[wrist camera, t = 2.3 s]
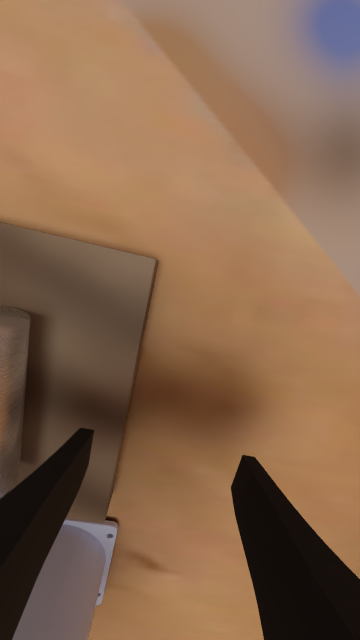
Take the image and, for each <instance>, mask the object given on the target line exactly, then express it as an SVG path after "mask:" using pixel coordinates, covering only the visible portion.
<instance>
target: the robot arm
mask: <svg viewBox="0 0 360 640" xmlns="http://www.w3.org/2000/svg"><path fill="white" fill-rule="evenodd" d="M93 435H94V430H92V429H86V428H79V429H78V430H77V431H76V432H75V433H74V434H73V435H72V436H71V437H70V438H69V439H68V440H67V441H66V442H65V443H64V444H63V445H62V446H61V447H60V448H59V449H58V450H57V451H56V452H55V453H54V454H53V455H51V456H50V457H49V458H48V459H47V460H46V461H45V462H44V463H43V464H42V465H40V466H39V467H38V468H37V469H36V470H35V471H34V472H32V473H31V474H30V475H29V476H28V477H26V478H25V479H24V480H23V481H22V482H20V483H19V484H18V485H17V486H16V487H14V488H13V489H12V490H11V491H9V492H8V493H7V494H6V495H4V496H3V497H2V498H0V640H88V636H89V632H90V627H91V623H92V619H93V614H94V610H95V606H98V605H100V604H101V603H102V600H103V595H104V591H105V586H106V581H107V577H108V572H109V567H110V563H111V558H112V554H113V549H114V544H115V540H116V535H117V530H118V524H117V523H116V522H114V521H107V520H105V522H104V523H100V522H93V521H85V520H78V519H70V518H66V517H67V515H68V513H69V510H70V508H71V506H72V504H73V502H74V500H75V498H76V496H77V494H78V492H79V489H80V487H81V484H82V482H83V479H84V476H85V474H86V471H87V468H88V466H89V460H90V454H91V447H92V441H93ZM231 491H232V498H233V505H234V511H235V516H236V520H237V524H238V528H239V532H240V536H241V540H242V544H243V548H244V551H245V555H246V559H247V563H248V567H249V571H250V575H251V579H252V582H253V586H254V591H255V595H256V600H257V604H258V609H259V615H260V620H261V625H262V631H263V636H264V640H360V579H359V578H358V577H357V576H356V575H355V574H354V573H353V572H352V571H351V570H350V569H349V568H348V567H347V566H346V565H345V564H344V563H343V562H342V561H341V560H340V558H339V557H338V556H337V555H336V554H335V553H334V552H333V551H332V550H331V549H330V548H329V547H328V546H327V545H326V544H325V542H324V541H323V540H322V539H321V538H320V537H319V536H318V535H317V534H316V532H315V531H314V530H313V529H312V528H311V527H310V525H309V524H308V523H307V522H306V521H305V520H304V518H303V517H302V516H301V515H300V514H299V512H298V511H297V510H296V509H295V508H294V506H293V505H292V504H291V503H290V501H289V500H288V499H287V498H286V496H285V495H284V494H283V493H282V491H281V490H280V489H279V488H278V486H277V485H276V484H275V482H274V481H273V480H272V479H271V477H270V476H269V475H268V473H267V472H266V471H265V469H264V468H263V467H262V466H261V464H260V463H259V462H258V461H257V459H256V458H255V457H252V456H246V455H242V458H241V461H240V464H239V466H238V469H237V472H236V475H235V478H234V480H233V483H232V486H231Z"/></svg>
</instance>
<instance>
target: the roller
mask: <svg viewBox="0 0 360 640" xmlns="http://www.w3.org/2000/svg"><path fill="white" fill-rule="evenodd" d="M29 332H30V316H29V314H28V313H26V312H24V311H23V310H20V309H18V308H15V307H11V306H7V305H2V304H0V498H2V497H3V496H4V495H6V494H7V493H8V492H9V491H11V490H12V489H13V488H14V487H16V486H17V485H18V484H19V472H20V458H21V444H22V430H23V416H24V402H25V388H26V374H27V360H28V346H29Z"/></svg>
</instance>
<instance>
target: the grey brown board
mask: <svg viewBox="0 0 360 640" xmlns="http://www.w3.org/2000/svg"><path fill="white" fill-rule="evenodd" d="M157 266H158V260H156V259H153V258H149V257H144V256H140V255H136V254H132V253H128V252H123V251H119V250H115V249H111V248H107V247H102V246H98V245H94V244H90V243H85V242H81V241H77V240H73V239H69V238H64V237H60V236H56V235H52V234H47V233H43V232H39V231H35V230H31V229H26V228H22V227H18V226H14V225H9V224H5V223H1V222H0V304H2V305H7V306H11V307H15V308H18V309H20V310H23V311H24V312H26V313H28V314H29V316H30V332H29V346H28V360H27V374H26V388H25V402H24V416H23V430H22V444H21V458H20V472H19V483H20V482H22V481H23V480H24V479H25V478H26V477H28V476H29V475H30V474H31V473H32V472H34V471H35V470H36V469H37V468H38V467H39V466H40V465H42V464H43V463H44V462H45V461H46V460H47V459H48V458H49V457H50V456H51V455H53V454H54V453H55V452H56V451H57V450H58V449H59V448H60V447H61V446H62V445H63V444H64V443H65V442H66V441H67V440H68V439H69V438H70V437H71V436H72V435H73V434H74V433H75V432H76V431H77V430H78V429H79V428H86V429H92V430H94V435H93V441H92V447H91V454H90V460H89V466H88V468H87V471H86V474H85V476H84V479H83V482H82V484H81V487H80V489H79V492H78V494H77V496H76V498H75V500H74V502H73V504H72V506H71V508H70V510H69V513H68V515H67V517H66V518H70V519H78V520H85V521H93V522H100V523H104V522H105V519H106V515H107V511H108V508H109V504H110V500H111V497H112V493H113V488H114V483H115V478H116V473H117V468H118V462H119V457H120V452H121V447H122V442H123V437H124V432H125V427H126V422H127V417H128V412H129V407H130V402H131V397H132V392H133V387H134V382H135V377H136V372H137V367H138V362H139V357H140V352H141V347H142V341H143V336H144V331H145V326H146V321H147V316H148V311H149V306H150V301H151V296H152V291H153V286H154V281H155V276H156V271H157Z"/></svg>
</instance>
